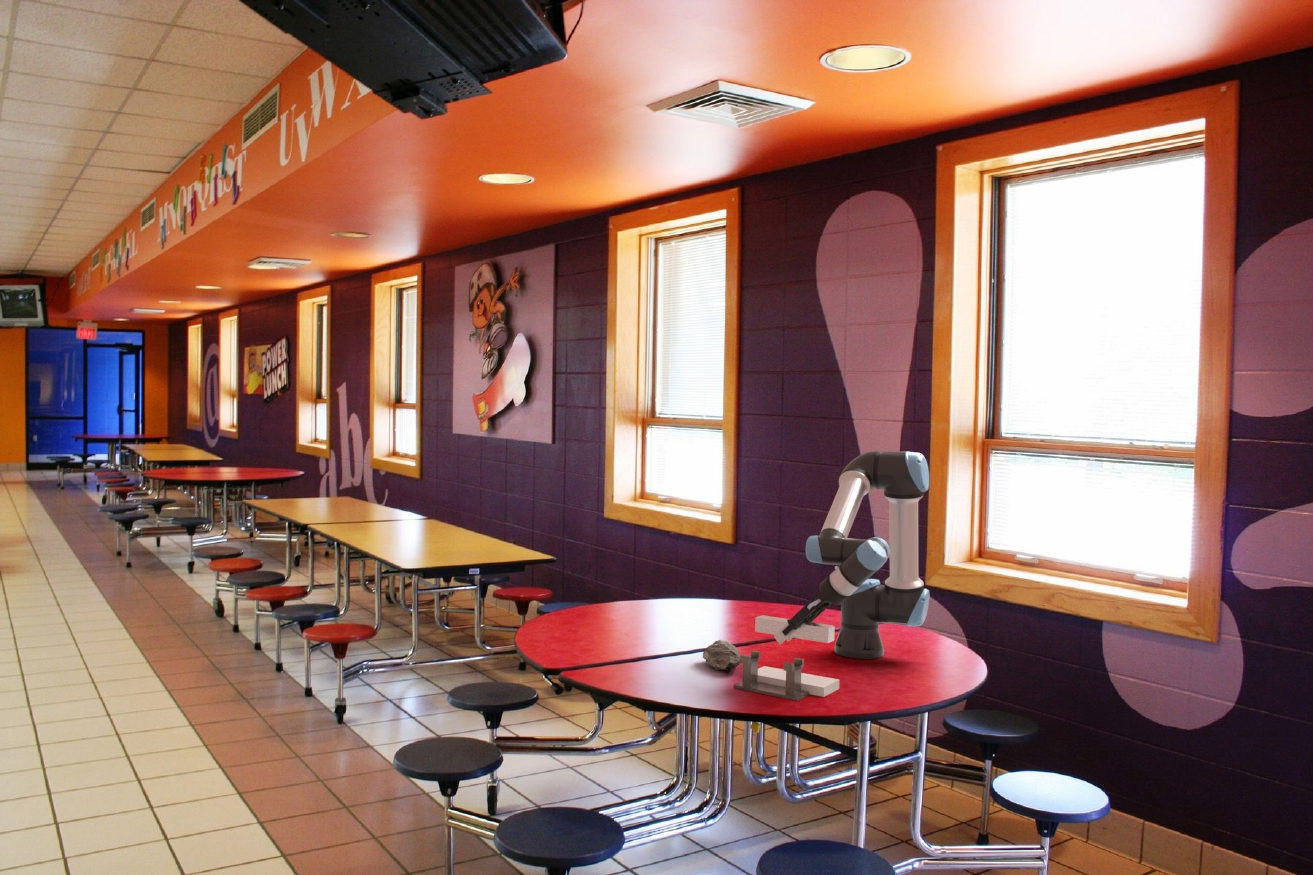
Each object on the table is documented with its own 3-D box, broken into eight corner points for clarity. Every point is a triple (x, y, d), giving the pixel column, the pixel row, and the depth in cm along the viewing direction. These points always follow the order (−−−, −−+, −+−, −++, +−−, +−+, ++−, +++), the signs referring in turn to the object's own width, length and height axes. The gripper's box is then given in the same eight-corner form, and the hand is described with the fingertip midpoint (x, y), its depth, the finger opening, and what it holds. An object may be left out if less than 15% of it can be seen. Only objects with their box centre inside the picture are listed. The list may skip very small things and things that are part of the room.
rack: (746, 682, 267) (747, 649, 267) (809, 694, 256) (810, 660, 256) (733, 687, 261) (734, 654, 261) (797, 700, 251) (798, 665, 251)
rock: (691, 654, 288) (710, 627, 291) (711, 673, 291) (730, 646, 294) (722, 669, 272) (742, 641, 274) (743, 689, 275) (763, 660, 278)
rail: (761, 629, 273) (762, 615, 273) (834, 640, 260) (834, 625, 260) (755, 631, 269) (755, 617, 269) (828, 642, 257) (828, 628, 257)
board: (764, 674, 276) (764, 666, 276) (839, 688, 263) (839, 679, 263) (747, 682, 268) (747, 673, 268) (823, 696, 255) (824, 687, 255)
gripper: (842, 571, 266) (786, 623, 276) (816, 578, 252) (758, 632, 261) (860, 592, 263) (803, 644, 273) (834, 601, 249) (775, 655, 259)
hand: (781, 638), depth 267 cm, fingers closed on rail, 4 cm apart
